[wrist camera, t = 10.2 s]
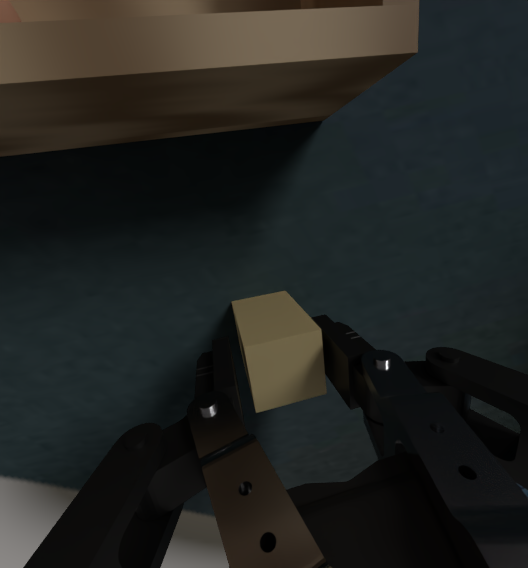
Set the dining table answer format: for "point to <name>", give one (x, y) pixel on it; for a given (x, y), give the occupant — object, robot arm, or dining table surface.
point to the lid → (279, 350)
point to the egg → (8, 12)
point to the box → (188, 66)
